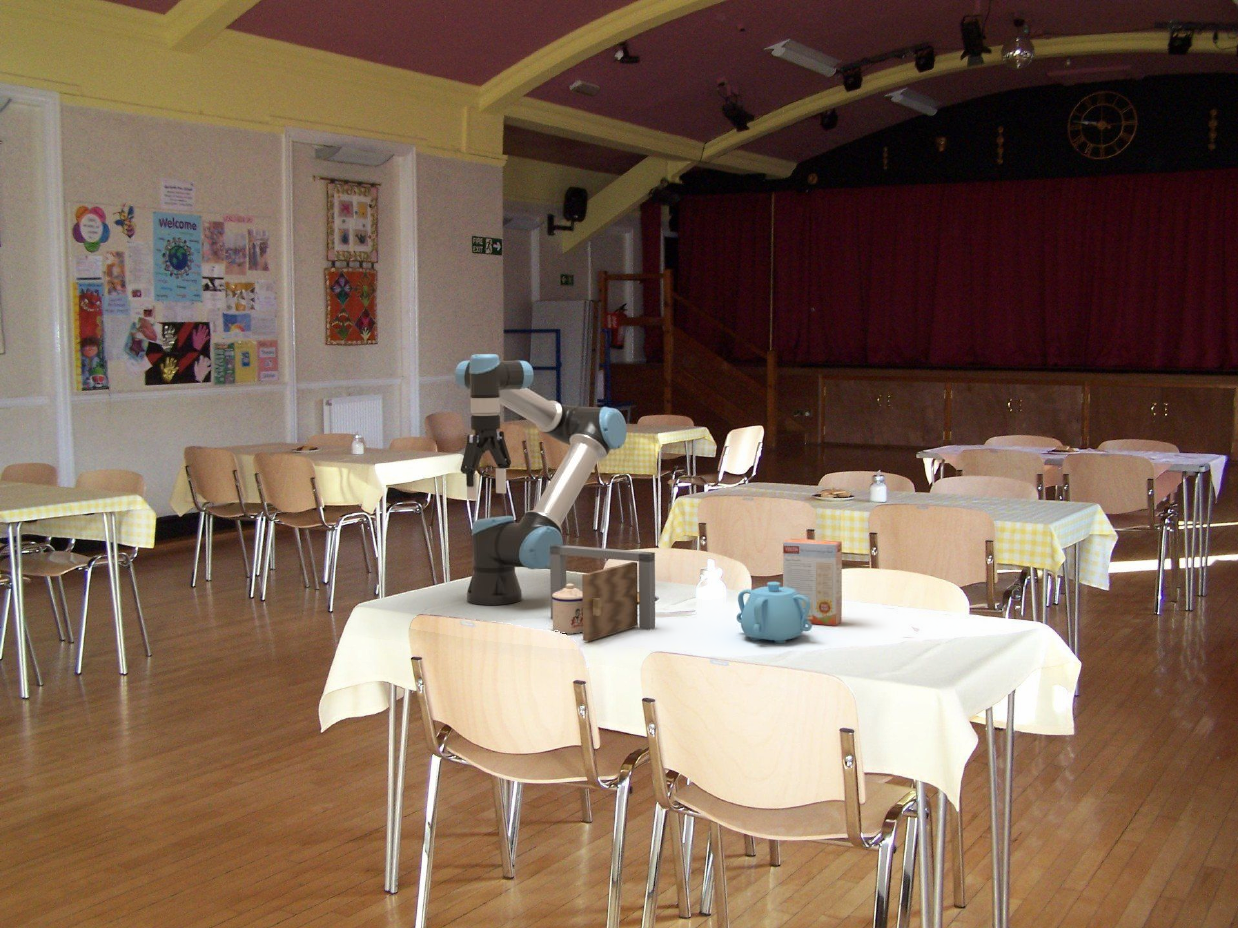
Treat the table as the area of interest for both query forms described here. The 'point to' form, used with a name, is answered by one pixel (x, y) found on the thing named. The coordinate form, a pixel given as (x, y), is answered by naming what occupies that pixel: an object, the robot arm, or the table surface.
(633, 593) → the door
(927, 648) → the table surface
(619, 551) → the door frame
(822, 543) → the cracker box
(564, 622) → the teacup with lid
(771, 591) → the decorative pot
